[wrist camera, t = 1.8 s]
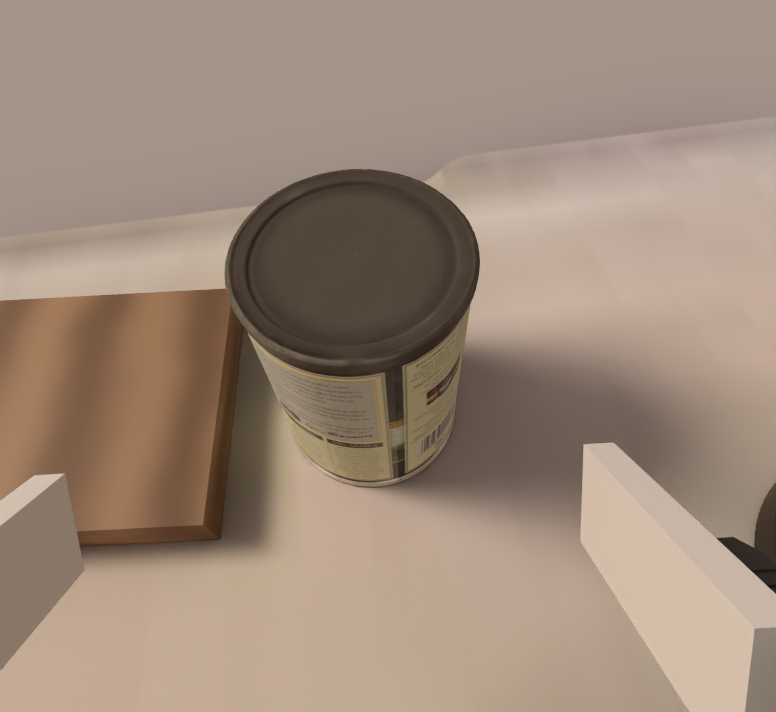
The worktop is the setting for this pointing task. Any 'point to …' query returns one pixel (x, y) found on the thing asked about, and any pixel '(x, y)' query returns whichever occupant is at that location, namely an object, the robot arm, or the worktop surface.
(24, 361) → the walnut board
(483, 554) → the worktop surface
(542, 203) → the worktop surface
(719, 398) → the worktop surface
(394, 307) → the coffee can
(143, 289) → the worktop surface
